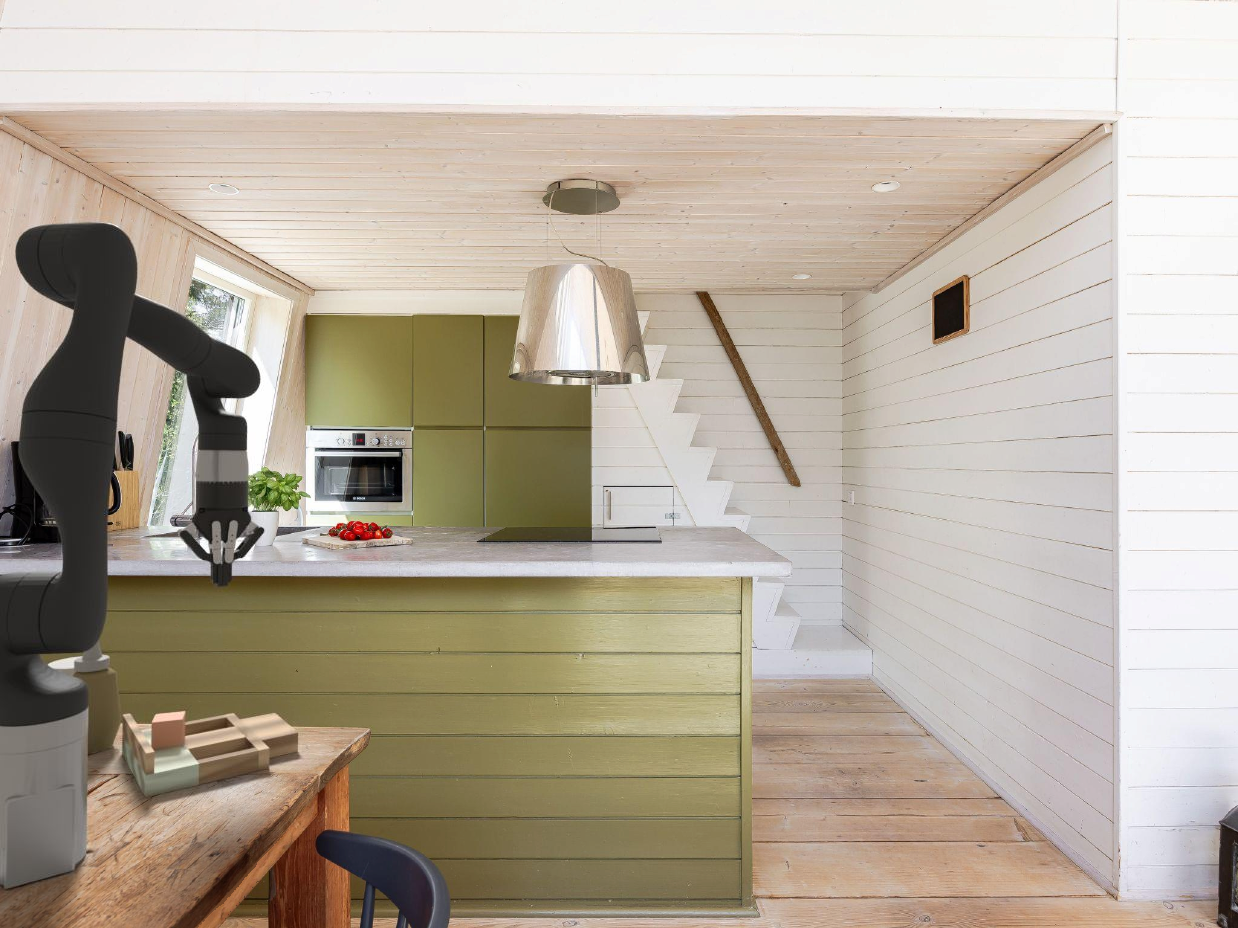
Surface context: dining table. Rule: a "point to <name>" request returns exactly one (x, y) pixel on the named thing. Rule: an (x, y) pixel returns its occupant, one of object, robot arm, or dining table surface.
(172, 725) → the block
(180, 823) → the dining table surface
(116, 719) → the squeeze bottle
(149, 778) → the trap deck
